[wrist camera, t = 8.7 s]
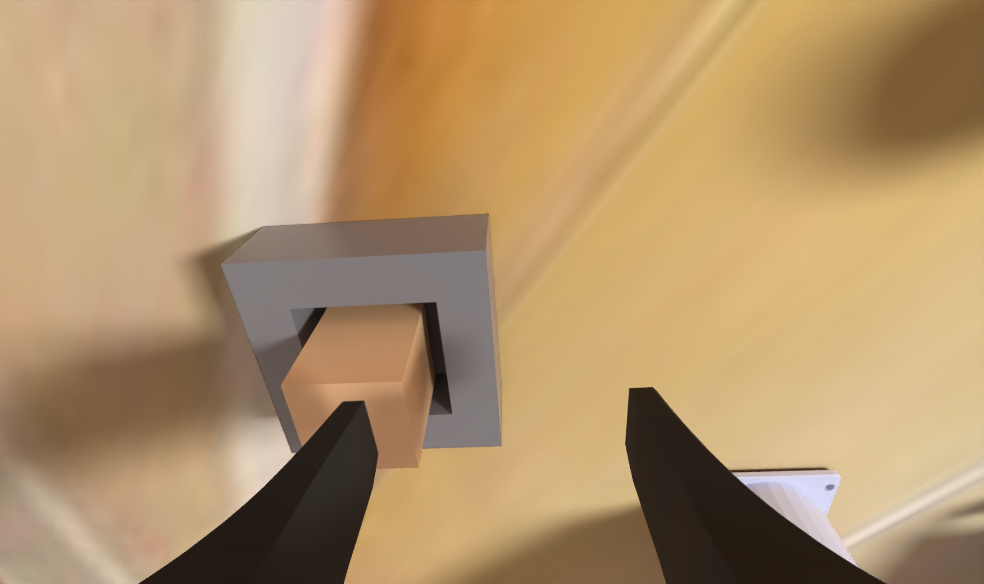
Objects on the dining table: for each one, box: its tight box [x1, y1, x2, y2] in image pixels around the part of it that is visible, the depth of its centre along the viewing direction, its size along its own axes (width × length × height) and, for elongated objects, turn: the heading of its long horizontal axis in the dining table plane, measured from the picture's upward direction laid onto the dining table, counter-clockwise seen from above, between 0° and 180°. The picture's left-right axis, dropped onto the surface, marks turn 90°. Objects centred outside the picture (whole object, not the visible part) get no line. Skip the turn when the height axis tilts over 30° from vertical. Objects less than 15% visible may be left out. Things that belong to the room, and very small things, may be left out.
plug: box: [281, 303, 435, 469], centre depth 20 cm, size 4×4×6 cm
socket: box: [221, 214, 502, 453], centre depth 21 cm, size 10×10×4 cm
